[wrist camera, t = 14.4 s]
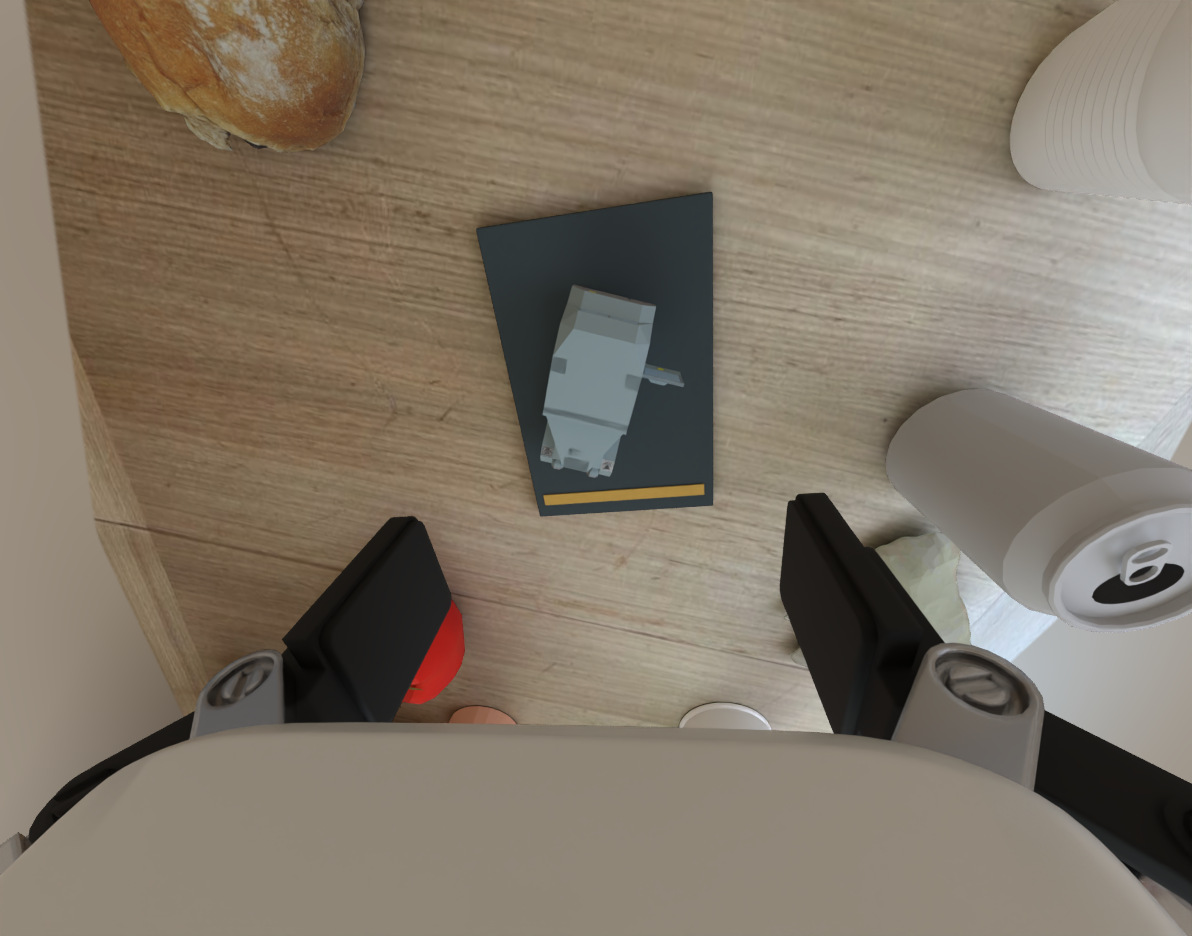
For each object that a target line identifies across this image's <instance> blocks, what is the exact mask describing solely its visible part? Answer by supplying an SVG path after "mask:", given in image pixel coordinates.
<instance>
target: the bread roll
mask: <svg viewBox="0 0 1192 936" xmlns="http://www.w3.org/2000/svg"><path fill="white" fill-rule="evenodd" d="M89 1H90V3H91V5H92V7H93V9H94V10H95V12H96V14H97V16H98V17H99V19H100V21H101V22H102V24H103V26H104V28H105V29H106V31H107V32H108V34H109V35H110V37H111V38H112V40H113V41H114V43H115V44H116V46H117V47H118V48H119V50H120V51H121V53H122V55H123V57H124V61H125V64H126V66H127V67H128V69H129V70H130V71H131V72H132V73H133V74H134V75H136V76H137V78H138V79H139V80H140V81H141V83H142V84H143V85H144V87H145V88H146V89H147V90H148V91H149V92H150V93H151V94H152V95H153V96H154V97H155V99H156V100H157V102H158V103H159V104H160V106H161V107H162V108H163V109H164V110H166V111H169V112H176V113H179V114H180V115H182V116H184V119H185V121H186V123H187V126H188V128H189V129H190V130H191V131H192V132H193V133H194V134H196V135H197V136H198V137H199V138H200V139H202V140H204V141H206V142H208V143H210V144H211V145H213V146H214V147H215V148H218V149H225V150H229V151H231V150H233V149H232V148H231V147H230V144H231V141H230V140H229V139H228V138H227V137H229V136H230V134H233V135H236V136H238V137H241V138H243V139H244V140H245V141H246V142H247V143H249V144H250V145H251V146H253V147H254V148H257V149H261V148H267V147H269V148H271V149H273V150H275V151H277V152H283V151H285V152H299V151H304V150H312V151H315V150H316V148H318V147H321V146H322V145H324V144H326V143H328V142H329V141H331V140H333V139H334V138H336V137H337V136H338V135H339V134H340V133H342V132H343V131H344V129H345V124H346V122H347V120H348V119H349V117H350V115H351V112H352V111H353V109H354V108H355V107H356V98H357V93H358V89H359V86H360V83H361V79H362V75H363V69H364V61H365V46H364V39H363V33H362V28H361V25H360V21H359V14H358V10H359V9H360V8H361V7H362V4H364V2H363V0H89Z"/></svg>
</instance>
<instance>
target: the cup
mask: <svg viewBox="0 0 1192 936" xmlns="http://www.w3.org/2000/svg"><path fill="white" fill-rule="evenodd" d="M1010 152H1011V156H1012V160H1013V164H1014V166H1015V167H1016V169H1017V171H1018V173H1019V174H1020V175H1021V176H1022V177H1023V178H1024V179H1025V180H1026V181H1027V182H1028V183H1030V184H1032V185H1034V186H1036V187H1038V188H1040V189H1045V190H1050V191H1059V192H1068V193H1078V194H1092V195H1102V196H1112V197H1123V198H1128V199H1129V198H1133V199H1139V200H1150V201H1161V202H1172V203H1177V204H1189V205H1192V0H1118V1H1116V2H1115V3H1113V4H1112V5H1110V6H1109V7H1108V8H1106V9H1105V10H1103V11H1102V12H1100V13H1099V14H1098V15H1096V16H1095V17H1093V18H1092V19H1090V20H1089V21H1088V22H1086V23H1085V24H1083V25H1082V26H1080V27H1079V28H1078V29H1076V30H1075V31H1073V32H1072V33H1070V34H1069V35H1068V36H1067V37H1066V38H1065V39H1064V40H1063V41H1062V42H1060V43H1059V44H1058V45H1057V46H1056V47H1055V48H1054V49H1053V50H1052V51H1051V52H1050V54H1049V55H1048V56H1047V57H1046V58H1045V59H1044V61H1043V62H1042V63H1041V64H1040V65H1039V67H1038V68H1037V70H1036V71H1035V73H1034V74H1033V76H1032V77H1031V79H1030V80H1029V82H1028V83H1027V85H1026V87H1025V89H1024V91H1023V93H1022V95H1021V97H1020V99H1019V101H1018V104H1017V107H1016V110H1015V113H1014V116H1013V119H1012V125H1011V131H1010Z"/></svg>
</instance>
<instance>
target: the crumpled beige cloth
mask: <svg viewBox="0 0 1192 936" xmlns="http://www.w3.org/2000/svg"><path fill="white" fill-rule="evenodd" d="M875 551H876V552H877V553H878V554H879V555H880V557H881V558H882V559H883V561H884V562H885V563H886V565H887V566H888V567H889V569H890V570H891V571H892V573H893V574H894V575H895V577H896V578H897V580H898V581H899V582H900V584H901V585H902V586H903V588H904V589H905V590H906V592H907V593H908V594H909V596H910V597H911V598H912V600H913V601H914V602H915V604H916V605H917V606H918V608H919V609H920V610H921V612H922V613H923V614H924V616H925V617H926V618H927V620H928V621H929V622H930V624H931V625H932V626H933V628H934V629H935V630H936V632H937V633H938V634H939V636H940V637H941V638H942V640H943V641H944V642H945V643H953V642H955V643H962V644H968V645H971V642H970V637H971V632H970V629H969V619H968V614H967V610H966V607H965V605H964V603H963V601H962V599H961V597H960V595H959V591H958V587H957V583H956V581H957V566H958V563H959V560H960V549H959V548H958V547H957V546H956V545H955V544H954V543H953V542H951V541H950V540H949V539H948V538H947V537H946V536H945V535H944V534H943V533H942V532H940V533H929V534H923V535H920V536H918V537H901V538H899V539H897V540H895V541H893V542H891V543H889V544H887V545H882V546H879V547H878V548H876V549H875ZM784 619H785V620H788V621H790V620H789V617H788V615H786V616H785V617H784ZM791 658H792V659H793V661H794V662H795V663H797V664H799V665H803V666H806V667H808V666H807V664H806V661H805V658H804V656H803V653H802V651H801V648H798V649H797V650H796V651H794V652H792V653H791Z"/></svg>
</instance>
